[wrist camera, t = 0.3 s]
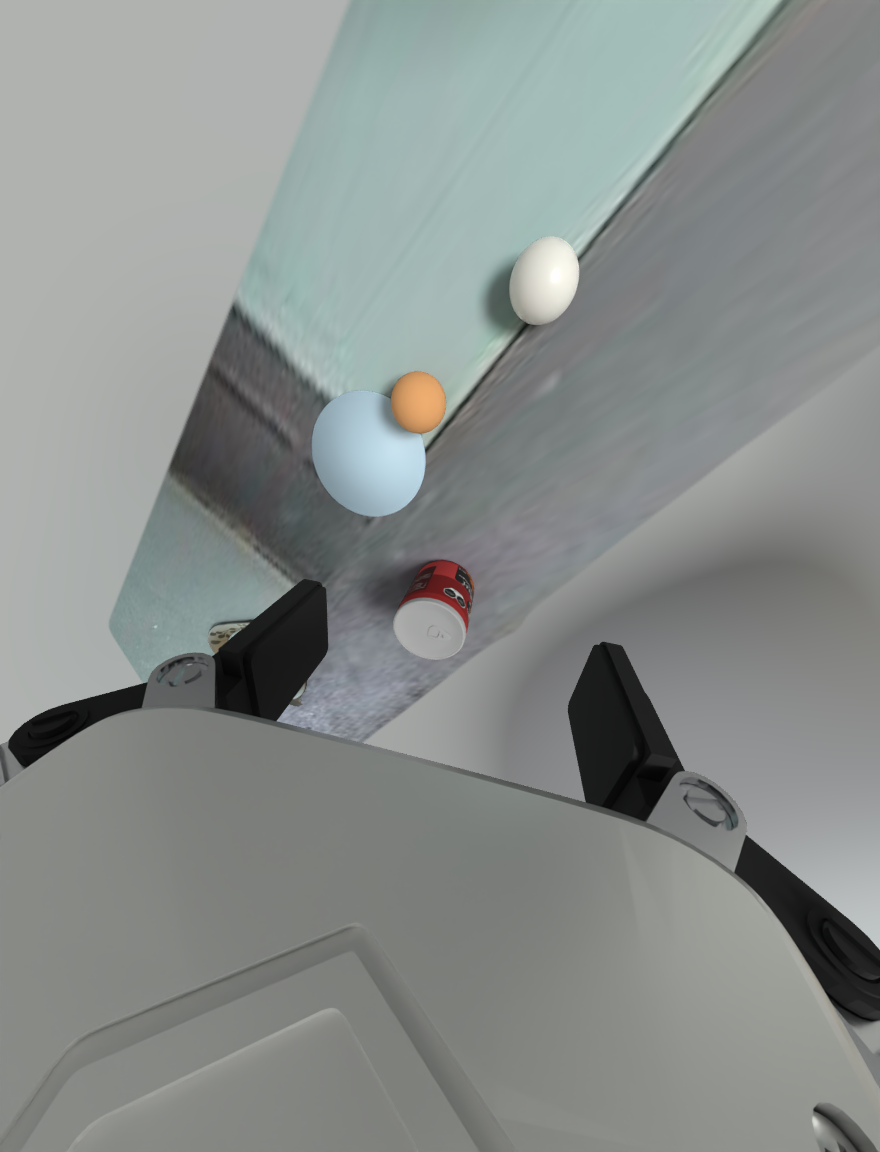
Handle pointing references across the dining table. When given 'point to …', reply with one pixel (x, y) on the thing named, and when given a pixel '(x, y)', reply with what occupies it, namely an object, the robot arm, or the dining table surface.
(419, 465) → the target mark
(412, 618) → the canned food
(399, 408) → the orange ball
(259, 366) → the dining table surface
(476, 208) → the dining table surface
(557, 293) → the white egg
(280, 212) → the dining table surface
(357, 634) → the dining table surface
